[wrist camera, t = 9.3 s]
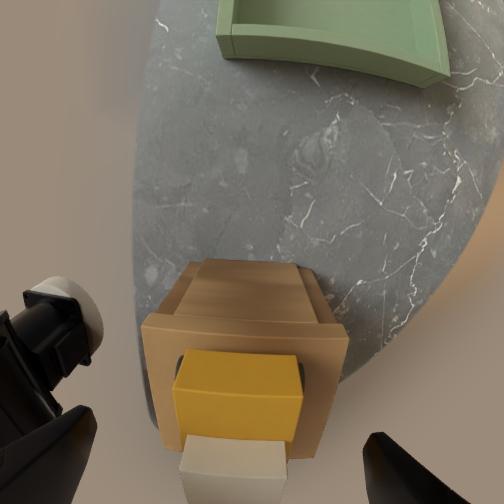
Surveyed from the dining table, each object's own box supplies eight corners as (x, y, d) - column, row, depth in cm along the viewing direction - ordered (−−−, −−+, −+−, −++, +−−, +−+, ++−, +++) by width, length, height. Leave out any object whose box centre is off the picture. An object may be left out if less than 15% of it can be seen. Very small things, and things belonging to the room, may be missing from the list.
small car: (280, 456, 12) (284, 528, 8) (193, 451, 12) (179, 520, 8) (303, 345, 10) (324, 437, 6) (182, 337, 10) (146, 424, 6)
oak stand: (192, 356, 21) (163, 449, 12) (189, 257, 19) (140, 325, 10) (297, 363, 21) (314, 458, 12) (311, 264, 19) (350, 338, 10)
